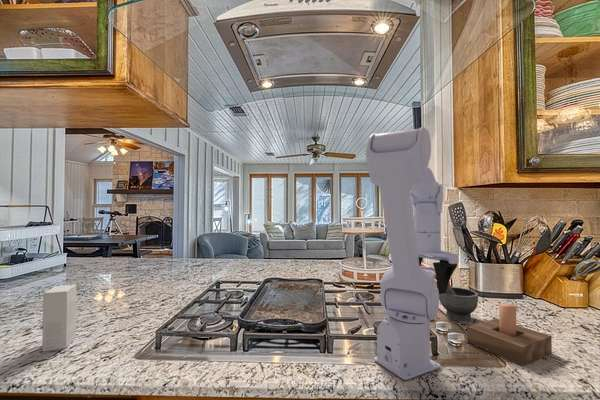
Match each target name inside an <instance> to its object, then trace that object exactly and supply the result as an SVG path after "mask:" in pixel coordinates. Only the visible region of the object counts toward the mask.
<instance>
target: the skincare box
mask: <svg viewBox="0 0 600 400" xmlns="http://www.w3.org/2000/svg"><path fill="white" fill-rule="evenodd" d="M76 337H77V284H67V285H66V284H64V285H54V286H53V287H52V288H50V289H48V290H47V291H45V292H43V294H42V342H41V343H42V345H41V351H42V352H43V353H44V352H51V351H56V350H57V351H58V350H66V349H67V348H68V347H69V345H70V344H72V343H73V341H74V339H75V338H76Z"/></svg>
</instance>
